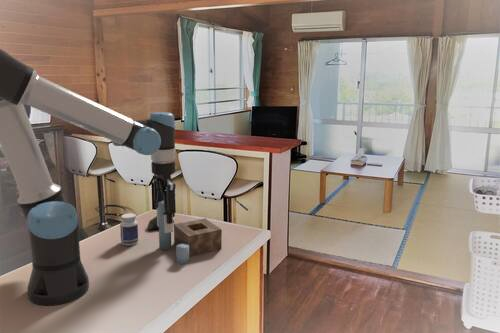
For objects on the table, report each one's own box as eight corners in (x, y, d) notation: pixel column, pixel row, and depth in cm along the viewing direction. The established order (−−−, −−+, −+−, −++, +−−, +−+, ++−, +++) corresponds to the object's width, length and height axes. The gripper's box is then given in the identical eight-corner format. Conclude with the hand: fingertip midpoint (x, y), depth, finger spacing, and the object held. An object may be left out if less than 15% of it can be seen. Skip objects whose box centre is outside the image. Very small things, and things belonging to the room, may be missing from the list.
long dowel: (161, 251, 141) (160, 205, 137) (157, 246, 144) (156, 201, 140) (173, 248, 143) (172, 203, 139) (168, 244, 146) (167, 200, 142)
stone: (141, 229, 160) (140, 216, 158) (166, 219, 170) (166, 206, 169) (154, 233, 156) (154, 220, 155) (179, 222, 167) (179, 210, 165)
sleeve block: (188, 256, 137) (188, 236, 136) (174, 243, 147) (173, 224, 146) (221, 248, 144) (221, 229, 142) (205, 236, 154) (205, 218, 152)
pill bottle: (141, 242, 148) (140, 214, 145) (129, 247, 143) (127, 219, 141) (130, 238, 151) (129, 211, 148) (117, 243, 146) (116, 216, 144)
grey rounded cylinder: (179, 265, 132) (179, 250, 130) (174, 259, 135) (174, 245, 134) (191, 262, 134) (191, 247, 132) (185, 257, 137) (185, 242, 136)
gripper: (186, 165, 131) (187, 236, 136) (163, 154, 146) (165, 218, 152) (163, 168, 127) (164, 240, 132) (142, 156, 142) (144, 222, 148)
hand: (164, 228), depth 142 cm, fingers open, 6 cm apart
